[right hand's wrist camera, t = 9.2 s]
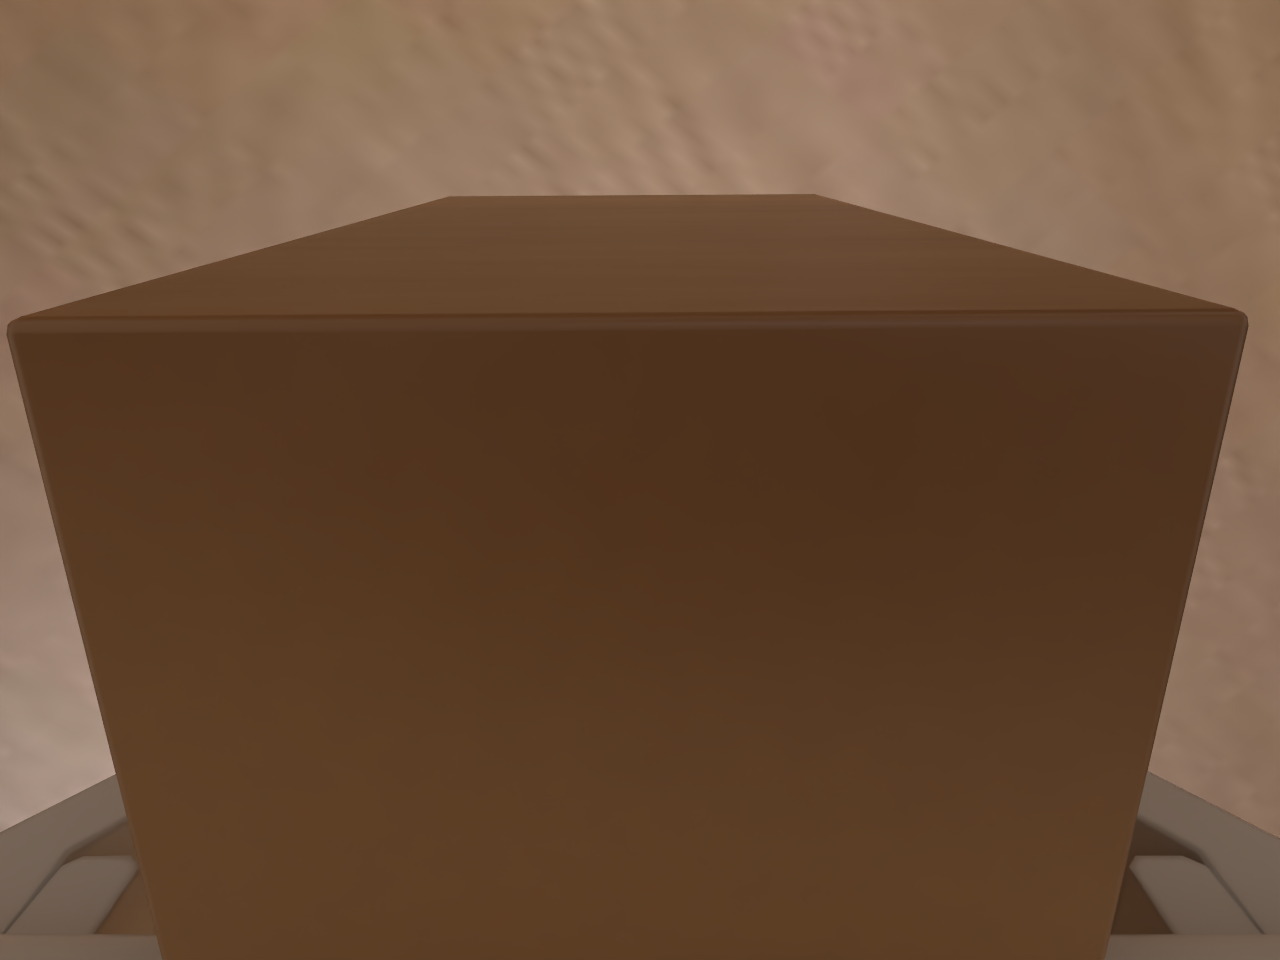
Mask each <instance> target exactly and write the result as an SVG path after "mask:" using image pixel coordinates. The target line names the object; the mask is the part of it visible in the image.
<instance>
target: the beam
mask: <svg viewBox="0 0 1280 960" xmlns="http://www.w3.org/2000/svg"><path fill="white" fill-rule="evenodd" d="M1247 330H1248V319H1247V316H1246V315H1245V314H1244V313H1243V312H1241V311H1239V310H1236V309H1234V308H1231V307H1227V306H1223V305H1220V304H1216V303H1212V302H1209V301H1205V300H1201V299H1198V298H1194V297H1190V296H1187V295H1183V294H1179V293H1176V292H1172V291H1168V290H1165V289H1161V288H1157V287H1153V286H1150V285H1146V284H1142V283H1139V282H1135V281H1131V280H1128V279H1124V278H1120V277H1117V276H1113V275H1109V274H1106V273H1102V272H1098V271H1095V270H1091V269H1087V268H1084V267H1080V266H1076V265H1073V264H1069V263H1065V262H1062V261H1058V260H1054V259H1051V258H1047V257H1043V256H1040V255H1036V254H1032V253H1029V252H1025V251H1021V250H1018V249H1014V248H1010V247H1007V246H1003V245H999V244H995V243H992V242H988V241H984V240H981V239H977V238H973V237H970V236H966V235H962V234H959V233H955V232H951V231H948V230H944V229H940V228H937V227H933V226H929V225H926V224H922V223H918V222H915V221H911V220H907V219H904V218H900V217H896V216H893V215H889V214H885V213H882V212H878V211H874V210H871V209H867V208H863V207H860V206H856V205H852V204H849V203H845V202H841V201H838V200H834V199H830V198H826V197H823V196H819V195H815V194H775V195H614V196H454V197H446V198H442V199H439V200H435V201H431V202H428V203H424V204H421V205H417V206H414V207H410V208H407V209H403V210H399V211H396V212H392V213H389V214H385V215H382V216H378V217H374V218H371V219H367V220H364V221H360V222H357V223H353V224H350V225H346V226H342V227H339V228H335V229H332V230H328V231H325V232H321V233H317V234H314V235H310V236H307V237H303V238H300V239H296V240H293V241H289V242H285V243H282V244H278V245H275V246H271V247H268V248H264V249H260V250H257V251H253V252H250V253H246V254H243V255H239V256H236V257H232V258H228V259H225V260H221V261H218V262H214V263H211V264H207V265H203V266H200V267H196V268H193V269H189V270H186V271H182V272H179V273H175V274H171V275H168V276H164V277H161V278H157V279H154V280H150V281H146V282H143V283H139V284H136V285H132V286H129V287H125V288H122V289H118V290H114V291H111V292H107V293H104V294H100V295H97V296H93V297H89V298H86V299H82V300H79V301H75V302H72V303H68V304H65V305H61V306H57V307H54V308H50V309H47V310H43V311H40V312H36V313H32V314H29V315H25V316H22V317H19V318H17V319H15V320H13V321H11V322H10V323H9V324H8V327H7V338H8V342H9V346H10V350H11V354H12V358H13V362H14V366H15V370H16V374H17V378H18V382H19V386H20V390H21V394H22V398H23V402H24V406H25V410H26V414H27V418H28V422H29V426H30V431H31V435H32V439H33V443H34V447H35V451H36V455H37V459H38V463H39V467H40V471H41V475H42V479H43V483H44V487H45V491H46V495H47V499H48V503H49V507H50V511H51V515H52V519H53V523H54V527H55V531H56V535H57V539H58V543H59V547H60V551H61V555H62V559H63V563H64V567H65V571H66V575H67V579H68V583H69V587H70V591H71V595H72V599H73V603H74V607H75V611H76V615H77V619H78V623H79V627H80V631H81V635H82V639H83V643H84V647H85V652H86V656H87V660H88V664H89V668H90V672H91V676H92V680H93V684H94V688H95V692H96V696H97V700H98V704H99V708H100V712H101V716H102V720H103V724H104V728H105V732H106V736H107V740H108V744H109V748H110V752H111V756H112V760H113V764H114V768H115V772H116V776H117V780H118V784H119V788H120V792H121V796H122V800H123V804H124V808H125V812H126V816H127V820H128V824H129V828H130V832H131V836H132V840H133V844H134V848H135V852H136V856H137V860H138V864H139V869H140V873H141V877H142V881H143V885H144V889H145V893H146V897H147V901H148V905H149V909H150V913H151V917H152V921H153V925H154V929H155V933H156V937H157V941H158V945H159V949H160V953H161V957H162V960H1104V959H1105V955H1106V951H1107V946H1108V942H1109V937H1110V933H1111V929H1112V924H1113V920H1114V915H1115V911H1116V907H1117V902H1118V898H1119V893H1120V889H1121V885H1122V880H1123V876H1124V871H1125V867H1126V863H1127V858H1128V854H1129V849H1130V845H1131V841H1132V836H1133V832H1134V827H1135V823H1136V819H1137V814H1138V810H1139V805H1140V801H1141V797H1142V792H1143V788H1144V783H1145V779H1146V775H1147V770H1148V766H1149V761H1150V757H1151V753H1152V748H1153V744H1154V739H1155V735H1156V731H1157V726H1158V722H1159V717H1160V713H1161V709H1162V704H1163V700H1164V695H1165V691H1166V687H1167V682H1168V678H1169V673H1170V669H1171V665H1172V660H1173V656H1174V651H1175V647H1176V643H1177V638H1178V634H1179V629H1180V625H1181V621H1182V616H1183V612H1184V607H1185V603H1186V599H1187V594H1188V590H1189V585H1190V581H1191V577H1192V572H1193V568H1194V563H1195V559H1196V555H1197V550H1198V546H1199V541H1200V537H1201V533H1202V528H1203V524H1204V519H1205V515H1206V511H1207V506H1208V502H1209V497H1210V493H1211V489H1212V484H1213V480H1214V475H1215V471H1216V467H1217V462H1218V458H1219V453H1220V449H1221V445H1222V440H1223V436H1224V431H1225V427H1226V423H1227V418H1228V414H1229V409H1230V405H1231V401H1232V396H1233V392H1234V387H1235V383H1236V379H1237V374H1238V370H1239V365H1240V361H1241V357H1242V352H1243V348H1244V343H1245V339H1246V335H1247Z"/></svg>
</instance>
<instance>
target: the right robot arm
mask: <svg viewBox="0 0 1280 960" xmlns="http://www.w3.org/2000/svg"><path fill="white" fill-rule="evenodd" d="M0 960H162V957H161V953H160V949H159V945H158V941H157V937H156V933H155V929H154V925H153V921H152V917H151V913H150V909H149V905H148V901H147V897H146V893H145V889H144V885H143V881H142V877H141V873H140V869H139V864H138V860H137V856H136V852H135V848H134V844H133V840H132V836H131V832H130V828H129V824H128V820H127V816H126V812H125V808H124V804H123V800H122V796H121V792H120V788H119V784H118V780H117V776H116V774H115V775H113V776H111V777H109V778H107V779H105V780H103V781H101V782H99V783H98V784H96V785H94V786H92V787H90V788H88V789H86V790H84V791H82V792H80V793H78V794H76V795H74V796H72V797H70V798H68V799H66V800H64V801H62V802H60V803H58V804H56V805H54V806H52V807H50V808H48V809H46V810H44V811H42V812H40V813H38V814H36V815H34V816H32V817H30V818H28V819H26V820H24V821H22V822H20V823H18V824H16V825H14V826H12V827H10V828H8V829H6V830H4V831H2V832H0ZM1104 960H1280V839H1279V838H1277V837H1275V836H1273V835H1271V834H1269V833H1267V832H1265V831H1264V830H1262V829H1260V828H1258V827H1256V826H1254V825H1252V824H1250V823H1248V822H1246V821H1244V820H1242V819H1240V818H1238V817H1236V816H1234V815H1232V814H1230V813H1228V812H1226V811H1224V810H1222V809H1220V808H1219V807H1217V806H1215V805H1213V804H1211V803H1209V802H1207V801H1205V800H1203V799H1201V798H1199V797H1197V796H1195V795H1193V794H1191V793H1189V792H1187V791H1185V790H1183V789H1181V788H1179V787H1177V786H1176V785H1174V784H1172V783H1170V782H1168V781H1166V780H1164V779H1162V778H1160V777H1158V776H1156V775H1154V774H1152V773H1150V772H1148V771H1147V775H1146V779H1145V783H1144V788H1143V792H1142V797H1141V801H1140V805H1139V810H1138V814H1137V819H1136V823H1135V827H1134V832H1133V836H1132V841H1131V845H1130V849H1129V854H1128V858H1127V863H1126V867H1125V871H1124V876H1123V880H1122V885H1121V889H1120V893H1119V898H1118V902H1117V907H1116V911H1115V915H1114V920H1113V924H1112V929H1111V933H1110V937H1109V942H1108V946H1107V951H1106V955H1105V959H1104Z"/></svg>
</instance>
